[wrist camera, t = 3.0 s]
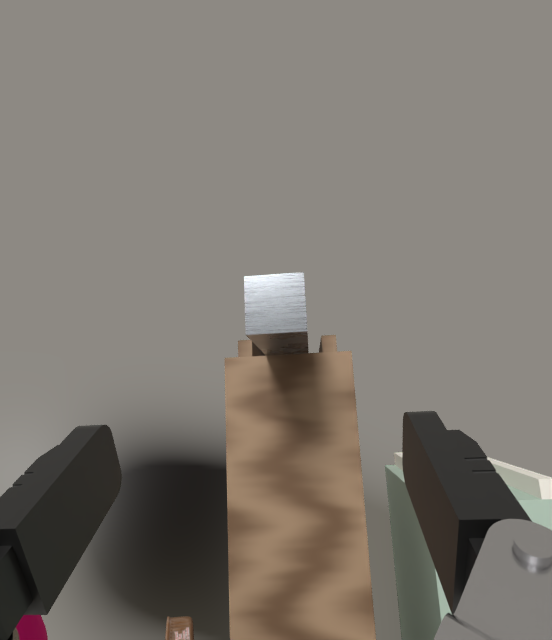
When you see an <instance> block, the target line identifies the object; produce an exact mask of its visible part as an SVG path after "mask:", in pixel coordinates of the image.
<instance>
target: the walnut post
mask: <svg viewBox="0 0 552 640" xmlns="http://www.w3.org/2000/svg"><path fill="white" fill-rule="evenodd" d="M351 353H352V352H351V351H341V352H337V345H336V335H325V336H321V342H320V348H319V353H305V354H287V355H269V356H266V355H265V354H264V353H263V352H262V351H261V350H260V349H259V348H258V347H257V346H256V345H255V344H254V343H253V342H252V341H251V340H240V341H238V355H239V356H238V357H234V358H225V395H226V396H225V398H226V400H225V401H226V450H227V452H226V453H227V505H228V551H229V552H228V557H229V609H230V640H376V634H375V623H374V611H373V600H372V588H371V576H370V564H369V553H368V541H367V529H366V517H365V505H364V493H363V482H362V470H361V458H360V446H359V435H358V424H357V412H356V399H355V388H354V376H353V365H352V354H351Z"/></svg>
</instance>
